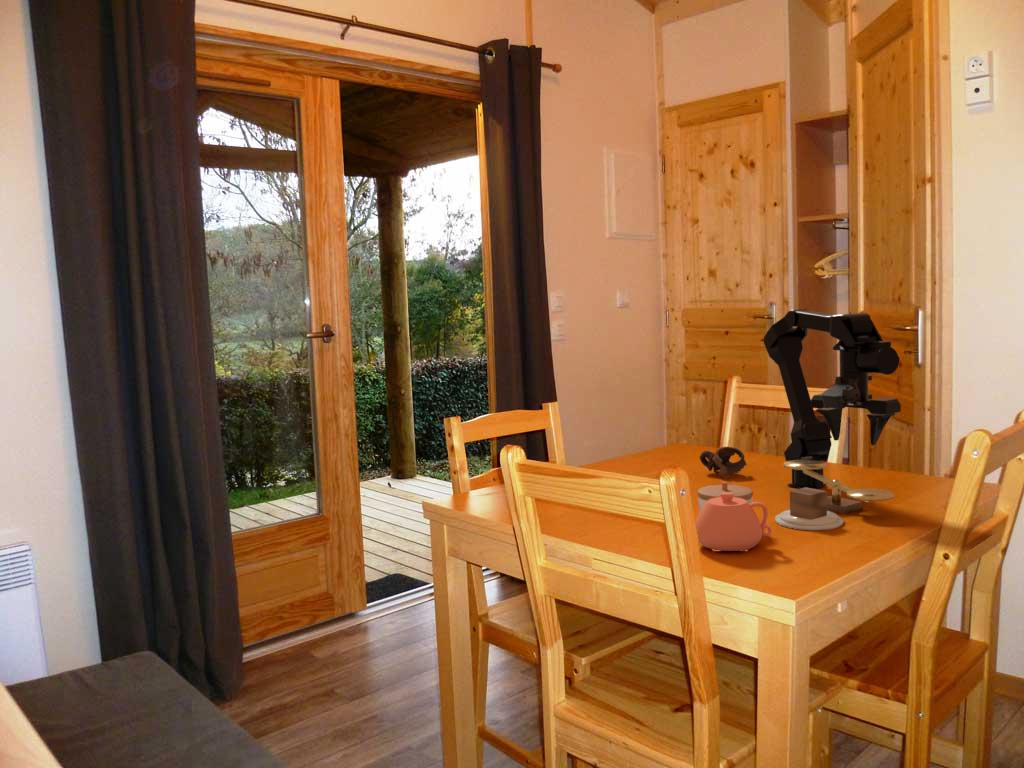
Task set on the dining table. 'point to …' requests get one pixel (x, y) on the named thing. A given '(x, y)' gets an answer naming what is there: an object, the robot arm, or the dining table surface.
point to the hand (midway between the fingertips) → (854, 442)
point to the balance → (839, 488)
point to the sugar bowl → (730, 523)
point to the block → (808, 503)
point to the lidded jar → (715, 491)
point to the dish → (809, 521)
